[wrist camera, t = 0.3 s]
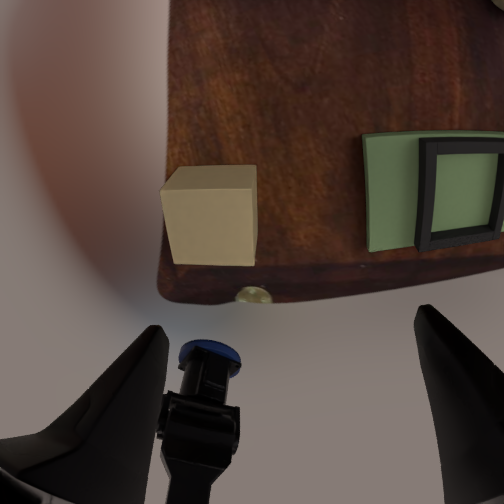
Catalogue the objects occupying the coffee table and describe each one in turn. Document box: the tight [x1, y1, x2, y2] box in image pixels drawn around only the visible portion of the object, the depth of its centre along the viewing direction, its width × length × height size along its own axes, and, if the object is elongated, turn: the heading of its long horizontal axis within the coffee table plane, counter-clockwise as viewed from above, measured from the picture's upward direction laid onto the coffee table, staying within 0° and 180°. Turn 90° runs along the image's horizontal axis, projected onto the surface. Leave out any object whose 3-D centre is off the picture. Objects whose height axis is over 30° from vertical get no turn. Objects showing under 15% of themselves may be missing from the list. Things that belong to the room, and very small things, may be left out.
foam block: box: [160, 165, 258, 266], centre depth 22 cm, size 6×6×4 cm
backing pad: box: [362, 130, 504, 252], centre depth 20 cm, size 18×10×2 cm, turn 102°
